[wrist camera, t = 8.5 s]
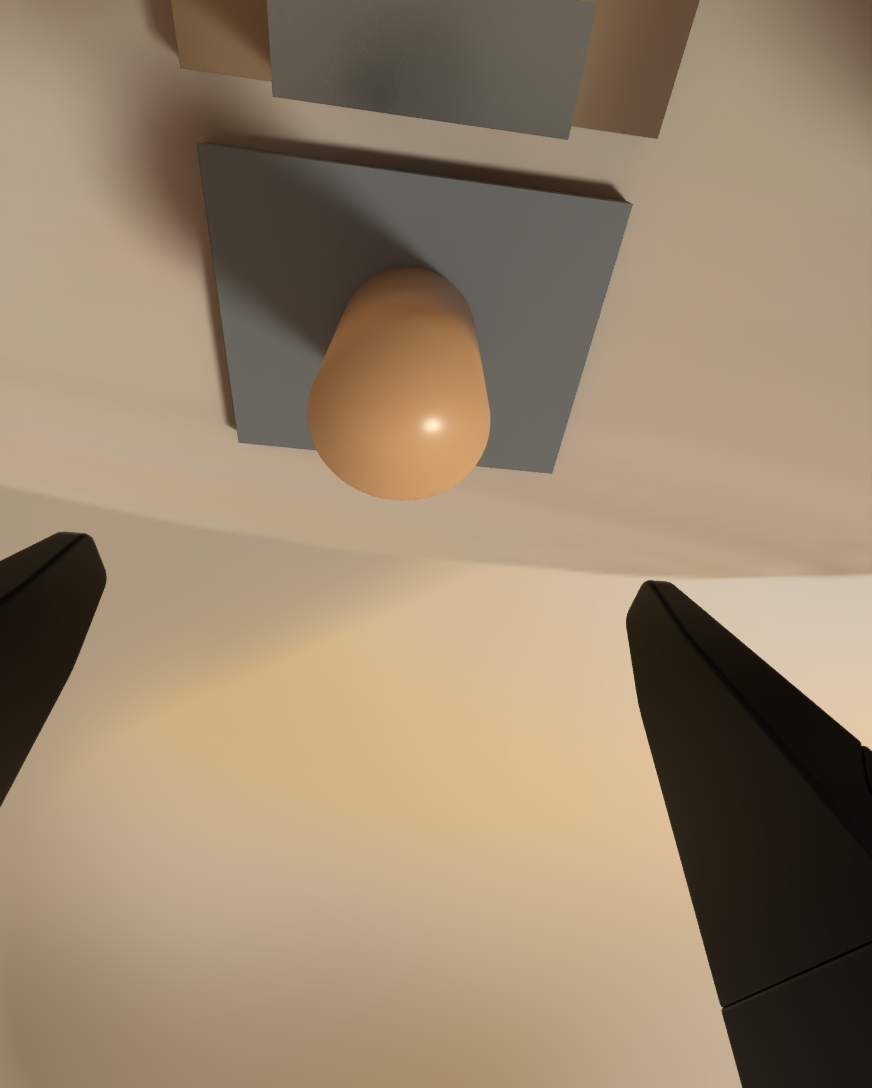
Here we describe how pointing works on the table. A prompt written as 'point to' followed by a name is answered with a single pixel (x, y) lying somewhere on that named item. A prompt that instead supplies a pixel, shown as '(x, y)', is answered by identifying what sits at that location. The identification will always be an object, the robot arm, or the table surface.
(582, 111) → the board
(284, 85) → the clamp jaws
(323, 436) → the orange-tan rounded capsule
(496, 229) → the pad
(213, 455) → the table surface
